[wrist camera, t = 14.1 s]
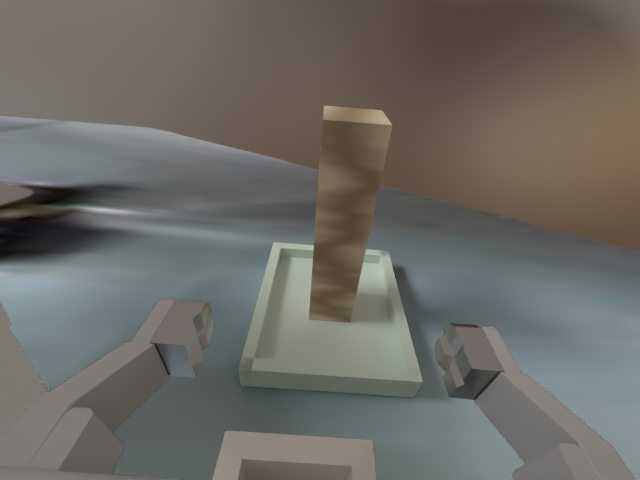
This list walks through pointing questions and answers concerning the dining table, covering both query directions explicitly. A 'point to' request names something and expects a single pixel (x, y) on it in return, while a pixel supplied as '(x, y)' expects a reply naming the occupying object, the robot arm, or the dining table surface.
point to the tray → (329, 332)
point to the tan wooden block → (345, 206)
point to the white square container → (293, 457)
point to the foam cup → (15, 379)
